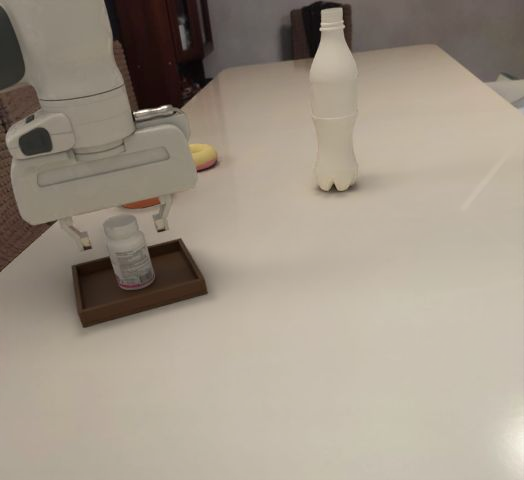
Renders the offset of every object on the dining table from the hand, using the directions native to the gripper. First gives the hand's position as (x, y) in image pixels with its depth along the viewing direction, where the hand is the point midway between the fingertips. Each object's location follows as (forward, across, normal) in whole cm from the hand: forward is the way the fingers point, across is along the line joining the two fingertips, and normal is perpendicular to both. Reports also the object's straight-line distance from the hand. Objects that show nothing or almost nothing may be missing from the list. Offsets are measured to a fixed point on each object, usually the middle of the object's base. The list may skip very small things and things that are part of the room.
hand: (124, 239), depth 65 cm
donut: (+7, -18, -43) cm, 47 cm away
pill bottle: (+6, 0, 0) cm, 6 cm away
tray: (+6, 0, 0) cm, 6 cm away
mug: (+7, -7, -31) cm, 33 cm away
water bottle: (+7, -36, -16) cm, 40 cm away
